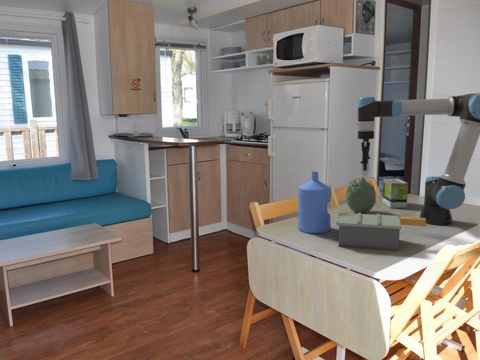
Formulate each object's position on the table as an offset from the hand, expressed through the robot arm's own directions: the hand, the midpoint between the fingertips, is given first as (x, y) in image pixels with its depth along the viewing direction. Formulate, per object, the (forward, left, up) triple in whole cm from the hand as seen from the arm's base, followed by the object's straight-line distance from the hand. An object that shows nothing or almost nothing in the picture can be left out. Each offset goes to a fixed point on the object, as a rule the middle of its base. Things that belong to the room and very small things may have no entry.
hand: (365, 175), depth 204 cm
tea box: (-17, -51, -26) cm, 60 cm away
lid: (-7, +24, -17) cm, 30 cm away
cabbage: (+2, -28, -26) cm, 38 cm away
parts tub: (-2, +24, -26) cm, 35 cm away
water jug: (+23, +9, -26) cm, 36 cm away
